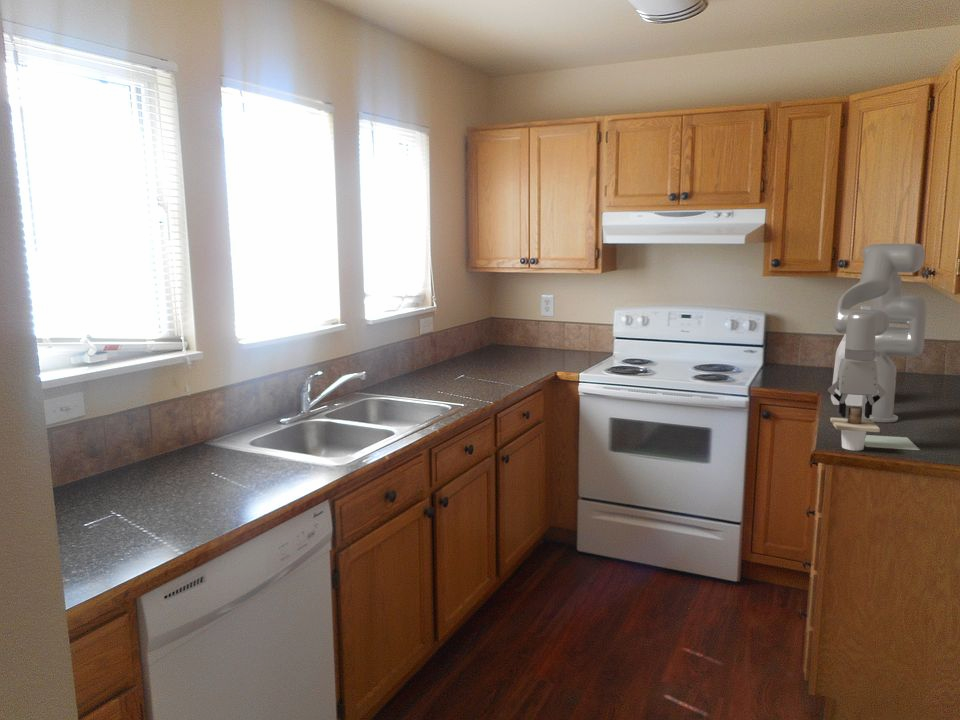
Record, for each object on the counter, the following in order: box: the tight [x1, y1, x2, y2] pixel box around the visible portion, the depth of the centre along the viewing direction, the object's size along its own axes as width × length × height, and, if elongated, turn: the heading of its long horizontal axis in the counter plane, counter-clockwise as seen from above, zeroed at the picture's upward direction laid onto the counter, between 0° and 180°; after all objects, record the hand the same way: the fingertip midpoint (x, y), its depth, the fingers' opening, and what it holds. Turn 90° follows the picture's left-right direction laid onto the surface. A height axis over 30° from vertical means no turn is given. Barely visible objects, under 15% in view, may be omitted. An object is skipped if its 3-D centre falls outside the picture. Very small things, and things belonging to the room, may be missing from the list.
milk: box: [830, 334, 863, 407], centre depth 268 cm, size 12×12×26 cm
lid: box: [830, 406, 881, 433], centre depth 208 cm, size 11×11×6 cm
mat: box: [864, 434, 921, 451], centre depth 215 cm, size 14×14×1 cm
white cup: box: [840, 430, 867, 451], centre depth 209 cm, size 7×7×7 cm
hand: (854, 416), depth 208 cm, fingers open, 5 cm apart
